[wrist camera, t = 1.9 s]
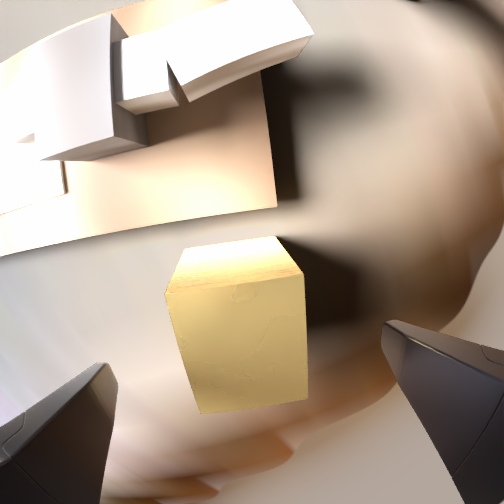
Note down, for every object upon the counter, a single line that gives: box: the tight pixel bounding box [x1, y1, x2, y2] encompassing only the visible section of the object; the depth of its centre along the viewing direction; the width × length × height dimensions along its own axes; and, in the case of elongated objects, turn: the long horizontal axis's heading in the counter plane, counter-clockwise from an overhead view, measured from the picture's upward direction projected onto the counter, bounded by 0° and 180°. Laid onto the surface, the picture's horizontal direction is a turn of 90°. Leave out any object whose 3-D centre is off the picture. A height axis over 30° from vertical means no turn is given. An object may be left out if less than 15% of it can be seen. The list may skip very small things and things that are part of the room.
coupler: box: [164, 236, 308, 414], centre depth 11 cm, size 4×5×5 cm
